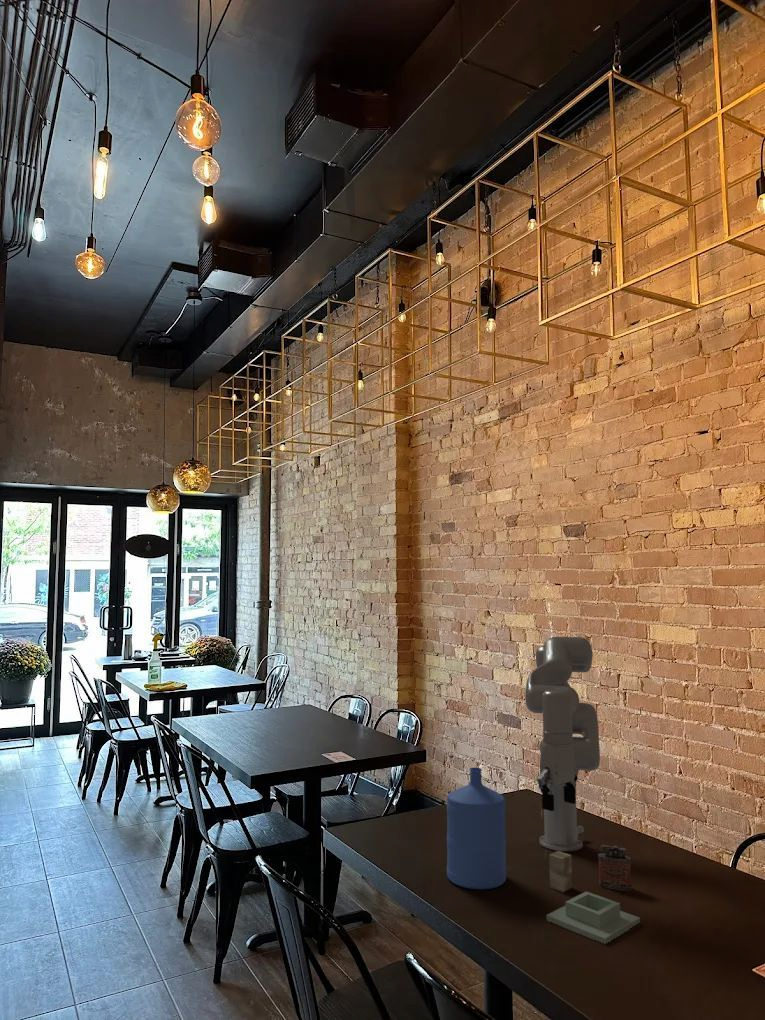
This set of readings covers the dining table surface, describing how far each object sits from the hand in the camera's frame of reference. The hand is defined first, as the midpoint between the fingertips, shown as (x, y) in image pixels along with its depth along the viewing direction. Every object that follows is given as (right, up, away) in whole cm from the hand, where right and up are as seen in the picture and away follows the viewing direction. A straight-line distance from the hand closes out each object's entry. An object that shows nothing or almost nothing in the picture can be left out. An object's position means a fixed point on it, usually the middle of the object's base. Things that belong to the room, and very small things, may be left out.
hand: (559, 806), depth 185 cm
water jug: (-21, -21, +3) cm, 30 cm away
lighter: (+14, -20, -2) cm, 25 cm away
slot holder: (+3, -18, -21) cm, 28 cm away
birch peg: (0, -20, -2) cm, 20 cm away
